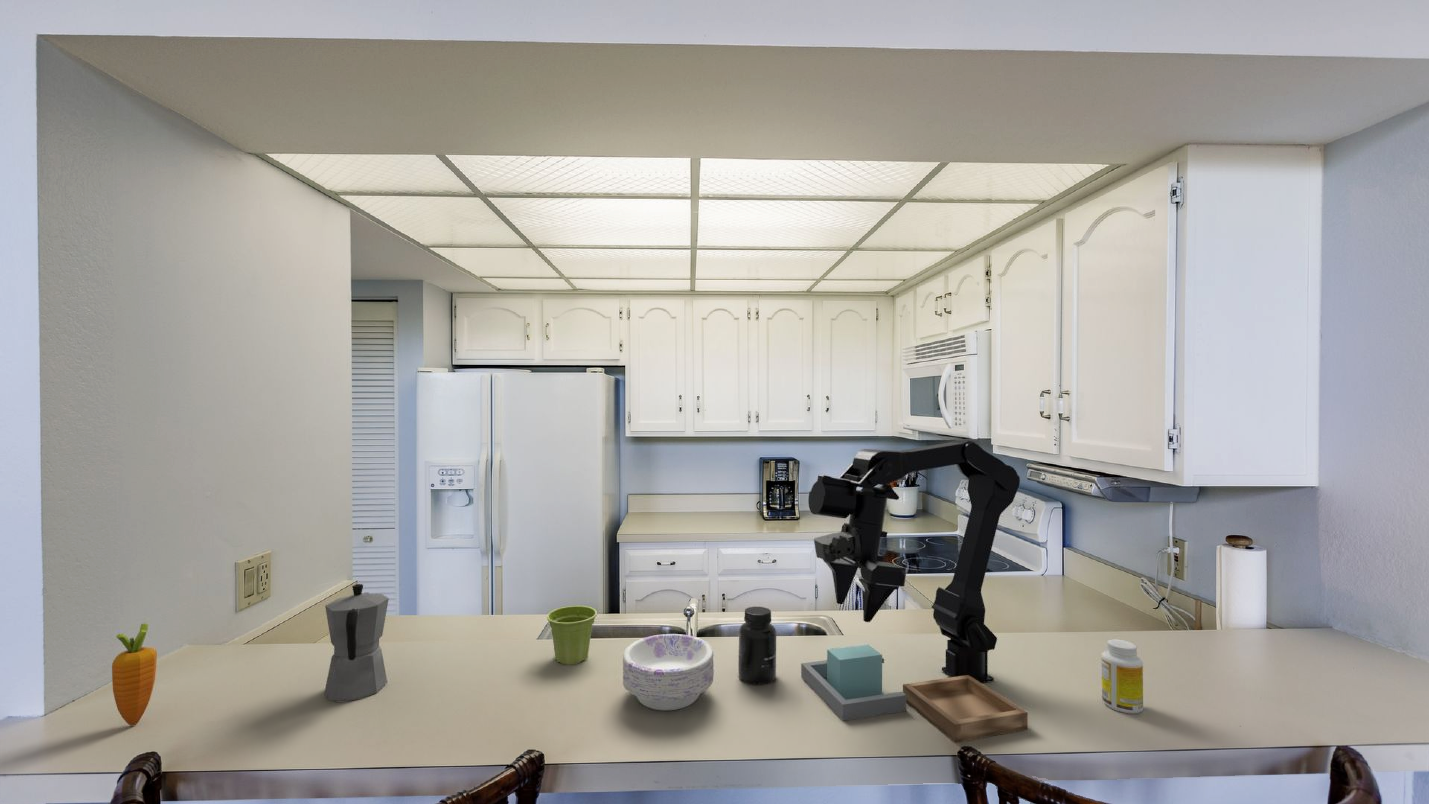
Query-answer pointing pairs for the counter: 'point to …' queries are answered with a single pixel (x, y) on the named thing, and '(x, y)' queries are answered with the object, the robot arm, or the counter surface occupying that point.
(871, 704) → the bay
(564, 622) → the plant pot
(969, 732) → the tray
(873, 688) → the tall aqua prism
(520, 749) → the counter surface
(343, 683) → the coffeepot
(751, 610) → the supplement bottle
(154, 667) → the carrot
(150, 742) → the counter surface
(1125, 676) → the supplement bottle
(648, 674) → the paper bowls
